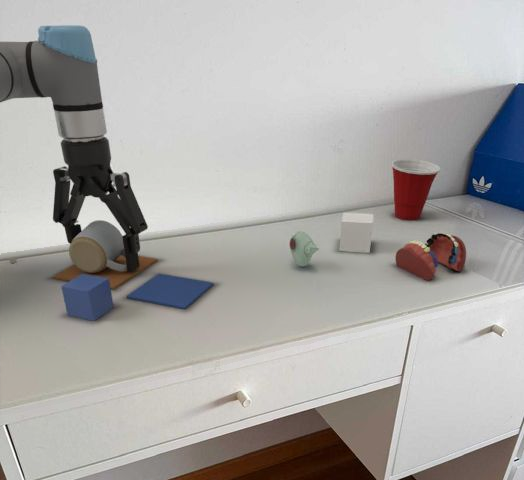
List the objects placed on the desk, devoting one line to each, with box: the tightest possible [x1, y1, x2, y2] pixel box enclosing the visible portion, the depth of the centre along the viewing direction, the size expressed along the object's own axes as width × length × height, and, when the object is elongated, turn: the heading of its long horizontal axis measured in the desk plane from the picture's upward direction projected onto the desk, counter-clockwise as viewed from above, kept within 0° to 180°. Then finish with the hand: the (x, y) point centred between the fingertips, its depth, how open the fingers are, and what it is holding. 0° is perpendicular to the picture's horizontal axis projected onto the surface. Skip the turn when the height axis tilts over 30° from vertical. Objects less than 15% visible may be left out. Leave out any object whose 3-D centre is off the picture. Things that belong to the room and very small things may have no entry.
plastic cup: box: [390, 158, 441, 221], centre depth 118 cm, size 11×11×12 cm
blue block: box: [60, 274, 115, 322], centre depth 80 cm, size 5×5×5 cm
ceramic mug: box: [68, 219, 128, 273], centre depth 93 cm, size 11×8×8 cm
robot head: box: [289, 230, 320, 268], centre depth 94 cm, size 8×4×7 cm, turn 25°
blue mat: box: [126, 273, 215, 310], centre depth 87 cm, size 11×10×1 cm
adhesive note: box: [338, 212, 374, 254], centre depth 103 cm, size 6×6×6 cm
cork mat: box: [52, 255, 158, 290], centre depth 95 cm, size 13×14×1 cm
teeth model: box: [395, 232, 467, 282], centre depth 93 cm, size 8×6×12 cm
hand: (106, 264), depth 95 cm, fingers closed on ceramic mug, 11 cm apart
